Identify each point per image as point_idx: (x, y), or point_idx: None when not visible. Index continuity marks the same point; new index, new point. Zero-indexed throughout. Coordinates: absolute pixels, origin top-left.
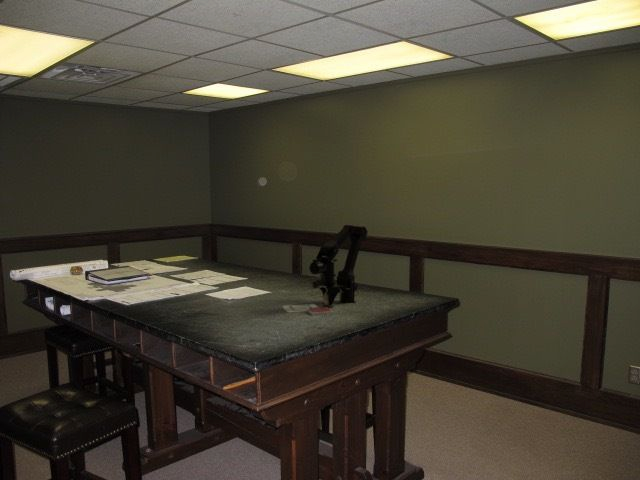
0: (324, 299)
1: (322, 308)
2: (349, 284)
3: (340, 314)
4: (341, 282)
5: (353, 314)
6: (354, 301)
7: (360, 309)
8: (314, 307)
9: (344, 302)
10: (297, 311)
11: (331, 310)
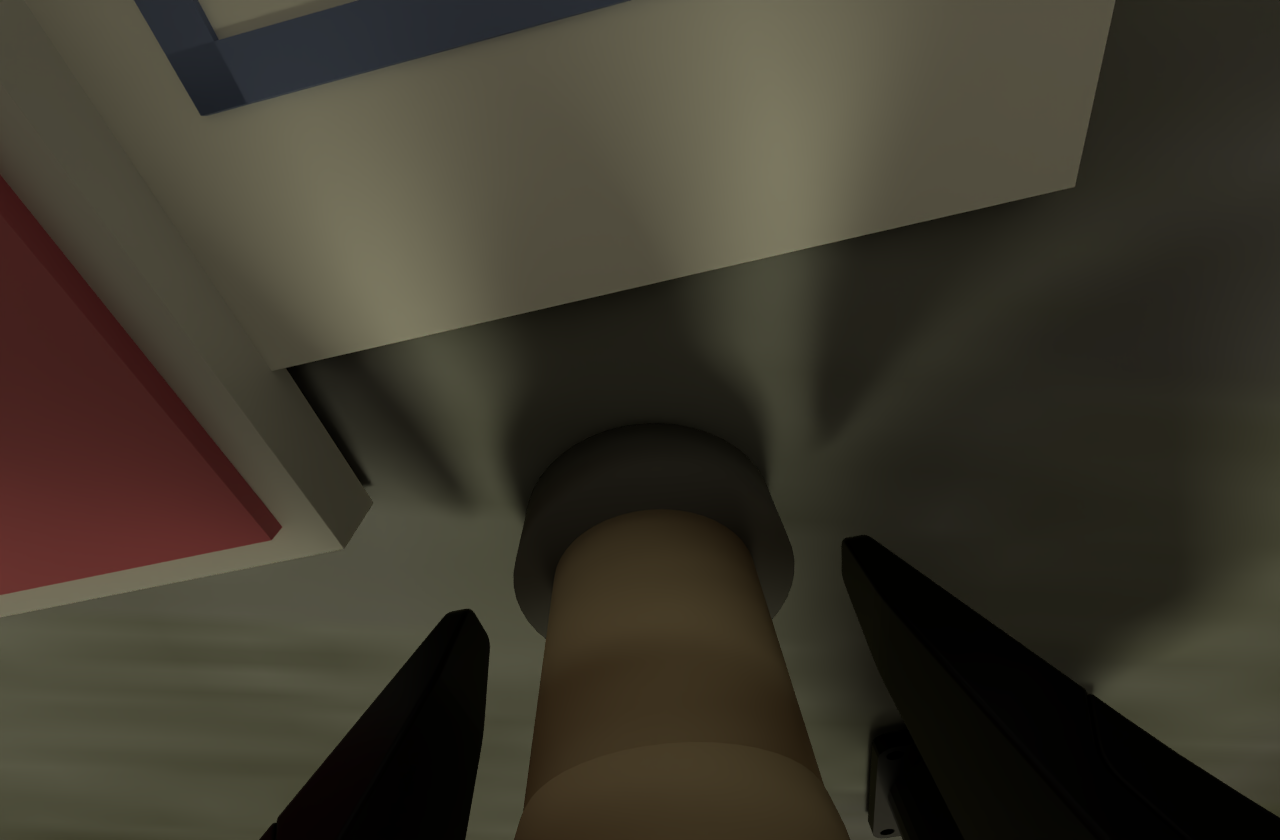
0: (638, 641)
1: (23, 432)
2: None
3: (94, 668)
4: None
5: (187, 785)
6: (894, 830)
7: (505, 837)
8: (523, 168)
9: (881, 757)
10: None
11: (4, 609)
